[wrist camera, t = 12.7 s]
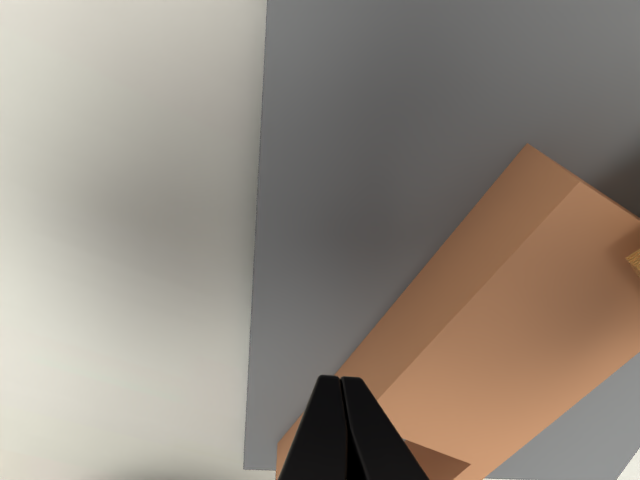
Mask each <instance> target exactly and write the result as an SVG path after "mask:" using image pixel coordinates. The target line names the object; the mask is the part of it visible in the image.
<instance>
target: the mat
mask: <svg viewBox="0 0 640 480" xmlns="http://www.w3.org/2000/svg"><path fill="white" fill-rule="evenodd" d="M527 143H528V144H530V145H531V146H533V147H534V148H536V149H537V150H539V151H540V152H542V153H543V154H545V155H546V156H548V157H549V158H551V159H552V160H554V161H555V162H557V163H558V164H560V165H561V166H563V167H564V168H566V169H567V170H569V171H570V172H572V173H573V174H575V175H576V176H578V177H579V178H581V179H582V180H584V181H585V182H587V183H588V184H590V185H591V186H593V187H594V188H596V189H597V190H599V191H600V192H602V193H603V194H605V195H606V196H608V197H609V198H611V199H612V200H614V201H615V202H617V203H618V204H620V205H621V206H623V207H624V208H626V209H627V210H629V211H630V212H632V213H633V214H635V215H636V216H638V217H639V218H640V0H267V17H266V37H265V56H264V76H263V95H262V115H261V134H260V154H259V173H258V193H257V213H256V232H255V252H254V271H253V291H252V310H251V330H250V349H249V369H248V388H247V408H246V427H245V447H244V466H243V469H246V470H274V471H276V462H277V443H278V442H279V441H280V440H281V439H282V437H283V436H284V435H285V434H286V433H287V431H288V430H289V429H290V428H291V427H292V425H293V424H294V423H295V422H296V421H297V419H298V418H299V417H300V416H301V415H302V413H303V412H304V411H305V408H306V406H307V403H308V401H309V398H310V396H311V393H312V390H313V388H314V385H315V383H316V380H317V378H318V376H319V375H335V374H336V372H337V371H338V370H339V369H340V368H341V366H342V365H343V364H344V363H345V362H346V360H347V359H348V358H349V357H350V356H351V354H352V353H353V352H354V351H355V350H356V348H357V347H358V346H359V345H360V344H361V342H362V341H363V340H364V339H365V337H366V336H367V335H368V334H369V333H370V331H371V330H372V329H373V328H374V327H375V325H376V324H377V323H378V322H379V321H380V319H381V318H382V317H383V316H384V315H385V313H386V312H387V311H388V310H389V309H390V307H391V306H392V305H393V304H394V303H395V301H396V300H397V299H398V298H399V297H400V295H401V294H402V293H403V292H404V291H405V289H406V288H407V287H408V286H409V285H410V283H411V282H412V281H413V280H414V279H415V277H416V276H417V275H418V274H419V273H420V271H421V270H422V269H423V268H424V266H425V265H426V264H427V263H428V262H429V260H430V259H431V258H432V257H433V256H434V254H435V253H436V252H437V251H438V250H439V248H440V247H441V246H442V245H443V244H444V242H445V241H446V240H447V239H448V238H449V236H450V235H451V234H452V233H453V232H454V230H455V229H456V228H457V227H458V226H459V224H460V223H461V222H462V221H463V220H464V218H465V217H466V216H467V215H468V214H469V212H470V211H471V210H472V209H473V208H474V206H475V205H476V204H477V203H478V202H479V200H480V199H481V198H482V197H483V195H484V194H485V193H486V192H487V191H488V189H489V188H490V187H491V186H492V185H493V183H494V182H495V181H496V180H497V179H498V177H499V176H500V175H501V174H502V173H503V171H504V170H505V169H506V168H507V167H508V165H509V164H510V163H511V162H512V161H513V159H514V158H515V157H516V156H517V155H518V153H519V152H520V151H521V150H522V149H523V147H524V146H525V145H526V144H527ZM402 439H403V438H402ZM403 440H404V441H405V440H406V439H403ZM639 448H640V352H639V353H638V354H636V355H635V356H634V357H633V358H632V359H630V360H629V361H628V362H627V363H625V364H624V365H623V366H622V367H620V368H619V369H618V370H617V371H616V372H614V373H613V374H612V375H611V376H609V377H608V378H607V379H606V380H604V381H603V382H602V383H601V384H599V385H598V386H597V387H596V388H595V389H593V390H592V391H591V392H590V393H588V394H587V395H586V396H585V397H583V398H582V399H581V400H580V401H579V402H577V403H576V404H575V405H574V406H572V407H571V408H570V409H569V410H567V411H566V412H565V413H564V414H563V415H561V416H560V417H559V418H558V419H556V420H555V421H554V422H553V423H551V424H550V425H549V426H548V427H546V428H545V429H544V430H543V431H542V432H540V433H539V434H538V435H537V436H535V437H534V438H533V439H532V440H530V441H529V442H528V443H527V444H526V445H524V446H523V447H522V448H521V449H519V450H518V451H517V452H516V453H514V454H513V455H512V456H511V457H510V458H508V459H507V460H506V461H505V462H503V463H502V464H501V465H500V466H498V467H497V468H496V469H495V470H493V471H492V472H491V473H490V474H489V475H487V476H486V477H485V478H491V479H518V480H617V478H618V477H619V475H620V474H621V473H622V471H623V470H624V469H625V467H626V466H627V464H628V463H629V462H630V460H631V459H632V458H633V456H634V455H635V453H636V452H637V451H638V449H639Z"/></svg>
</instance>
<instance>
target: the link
mask: <svg viewBox="0 0 640 480" xmlns="http://www.w3.org/2000/svg"><path fill="white" fill-rule="evenodd" d="M639 249H640V218H639V217H638V216H636V215H635V214H633V213H632V212H630V211H629V210H627V209H626V208H624V207H623V206H621V205H620V204H618V203H617V202H615V201H614V200H612V199H611V198H609V197H608V196H606V195H605V194H603V193H602V192H600V191H599V190H597V189H596V188H594V187H593V186H591V185H590V184H588V183H587V182H585V181H584V180H582V179H581V178H579V177H578V176H576V175H575V174H573V173H572V172H570V171H569V170H567V169H566V168H564V167H563V166H561V165H560V164H558V163H557V162H555V161H554V160H552V159H551V158H549V157H548V156H546V155H545V154H543V153H542V152H540V151H539V150H537V149H536V148H534V147H533V146H531V145H530V144H528V143H527V144H526V145H525V146H524V147H523V149H522V150H521V151H520V152H519V153H518V155H517V156H516V157H515V158H514V159H513V161H512V162H511V163H510V164H509V165H508V167H507V168H506V169H505V170H504V171H503V173H502V174H501V175H500V176H499V177H498V179H497V180H496V181H495V182H494V183H493V185H492V186H491V187H490V188H489V189H488V191H487V192H486V193H485V194H484V195H483V197H482V198H481V199H480V200H479V202H478V203H477V204H476V205H475V206H474V208H473V209H472V210H471V211H470V212H469V214H468V215H467V216H466V217H465V218H464V220H463V221H462V222H461V223H460V224H459V226H458V227H457V228H456V229H455V230H454V232H453V233H452V234H451V235H450V236H449V238H448V239H447V240H446V241H445V242H444V244H443V245H442V246H441V247H440V248H439V250H438V251H437V252H436V253H435V254H434V256H433V257H432V258H431V259H430V260H429V262H428V263H427V264H426V265H425V266H424V268H423V269H422V270H421V271H420V273H419V274H418V275H417V276H416V277H415V279H414V280H413V281H412V282H411V283H410V285H409V286H408V287H407V288H406V289H405V291H404V292H403V293H402V294H401V295H400V297H399V298H398V299H397V300H396V301H395V303H394V304H393V305H392V306H391V307H390V309H389V310H388V311H387V312H386V313H385V315H384V316H383V317H382V318H381V319H380V321H379V322H378V323H377V324H376V325H375V327H374V328H373V329H372V330H371V331H370V333H369V334H368V335H367V336H366V337H365V339H364V340H363V341H362V342H361V344H360V345H359V346H358V347H357V348H356V350H355V351H354V352H353V353H352V354H351V356H350V357H349V358H348V359H347V360H346V362H345V363H344V364H343V365H342V366H341V368H340V369H339V370H338V371H337V372H336V374H335V375H334V376H338V377H339V378H341V377H343V376H349V377H360V378H361V379H362V380H363V381H364V382H365V384H366V385H367V387H368V388H369V390H370V391H371V393H372V394H373V396H374V397H375V399H376V400H377V402H378V403H379V405H380V406H381V408H382V409H383V411H384V412H385V414H386V415H387V417H388V418H389V420H390V421H391V423H392V424H393V425H394V427H395V428H396V430H397V431H398V433H399V434H400V436H401V437H402V438H403V439H406V440H405V441H404V442H405V443H406V445H407V446H408V448H409V449H410V451H411V452H412V454H413V455H414V457H415V458H416V460H417V461H418V463H419V464H420V466H421V467H422V469H423V470H424V472H425V473H426V475H427V476H428V478H429V479H430V480H482V479H484V478H485V477H486V476H487V475H489V474H490V473H491V472H492V471H493V470H495V469H496V468H497V467H498V466H500V465H501V464H502V463H503V462H505V461H506V460H507V459H508V458H510V457H511V456H512V455H513V454H514V453H516V452H517V451H518V450H519V449H521V448H522V447H523V446H524V445H526V444H527V443H528V442H529V441H530V440H532V439H533V438H534V437H535V436H537V435H538V434H539V433H540V432H542V431H543V430H544V429H545V428H546V427H548V426H549V425H550V424H551V423H553V422H554V421H555V420H556V419H558V418H559V417H560V416H561V415H563V414H564V413H565V412H566V411H567V410H569V409H570V408H571V407H572V406H574V405H575V404H576V403H577V402H579V401H580V400H581V399H582V398H583V397H585V396H586V395H587V394H588V393H590V392H591V391H592V390H593V389H595V388H596V387H597V386H598V385H599V384H601V383H602V382H603V381H604V380H606V379H607V378H608V377H609V376H611V375H612V374H613V373H614V372H616V371H617V370H618V369H619V368H620V367H622V366H623V365H624V364H625V363H627V362H628V361H629V360H630V359H632V358H633V357H634V356H635V355H636V354H638V353H639V352H640V278H639V277H638V275H637V274H636V273H635V271H634V270H633V268H632V267H631V265H630V264H629V263H628V261H627V260H626V257H628V256H629V255H631V254H632V253H634V252H636V251H637V250H639ZM303 413H304V412H303ZM303 413H302V415H301V416H300V417H299V418H298V419H297V421H296V422H295V423H294V424H293V425H292V427H291V428H290V429H289V430H288V431H287V433H286V434H285V435H284V436H283V437H282V439H281V440H280V441H279V442H278V443H277V462H276V480H278V477H279V475H280V472H281V469H282V467H283V464H284V462H285V459H286V457H287V454H288V452H289V449H290V447H291V444H292V441H293V439H294V436H295V434H296V431H297V429H298V426H299V424H300V421H301V418H302V416H303Z"/></svg>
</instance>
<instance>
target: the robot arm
mask: <svg viewBox="0 0 640 480" xmlns="http://www.w3.org/2000/svg"><path fill="white" fill-rule="evenodd" d="M278 480H430V479H429V478H428V476H427V475H426V473H425V472H424V470H423V469H422V467H421V466H420V464H419V463H418V461H417V460H416V458H415V457H414V455H413V454H412V452H411V451H410V449H409V448H408V446H407V445H406V443H405V442H404V440H403V439H402V437H401V436H400V434H399V433H398V431H397V430H396V428H395V427H394V425H393V424H392V423H391V421H390V420H389V418H388V417H387V415H386V414H385V412H384V411H383V409H382V408H381V406H380V405H379V403H378V402H377V400H376V399H375V397H374V396H373V394H372V393H371V391H370V390H369V388H368V387H367V385H366V384H365V382H364V381H363V380H362V379H361V378H360V377H349V376H343V377H341V378H339V377H338V376H334V375H319V376H318V378H317V380H316V383H315V385H314V388H313V390H312V393H311V396H310V398H309V401H308V403H307V406H306V408H305V411H304V413H303V416H302V418H301V421H300V424H299V426H298V429H297V431H296V434H295V436H294V439H293V441H292V444H291V447H290V449H289V452H288V454H287V457H286V459H285V462H284V464H283V467H282V469H281V472H280V475H279V477H278Z"/></svg>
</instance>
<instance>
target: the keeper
mask: <svg viewBox="0 0 640 480" xmlns="http://www.w3.org/2000/svg"><path fill="white" fill-rule="evenodd" d="M626 260H627V261H628V263H629V264H630V265H631V267H632V268H633V270H634V271H635V273H636V274H637V275H638V277H639V278H640V249H639V250H637V251H636V252H634V253H632V254H631V255H629V256H628V257H626Z"/></svg>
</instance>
